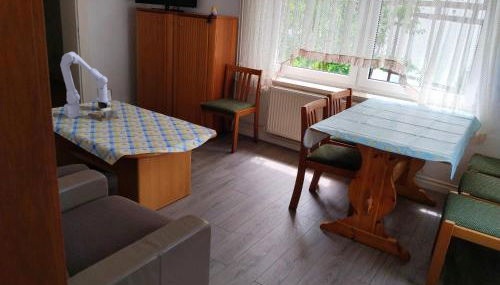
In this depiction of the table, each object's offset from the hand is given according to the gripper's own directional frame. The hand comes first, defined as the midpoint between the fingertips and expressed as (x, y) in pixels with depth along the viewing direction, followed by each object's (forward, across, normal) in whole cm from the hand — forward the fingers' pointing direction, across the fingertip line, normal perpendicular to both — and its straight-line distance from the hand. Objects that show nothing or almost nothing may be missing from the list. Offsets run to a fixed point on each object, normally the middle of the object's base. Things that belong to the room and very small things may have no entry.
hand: (103, 112), depth 277 cm
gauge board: (+3, 0, 0) cm, 3 cm away
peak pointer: (+2, -5, +5) cm, 7 cm away
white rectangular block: (+2, -3, +1) cm, 4 cm away
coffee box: (+4, +18, -12) cm, 22 cm away
